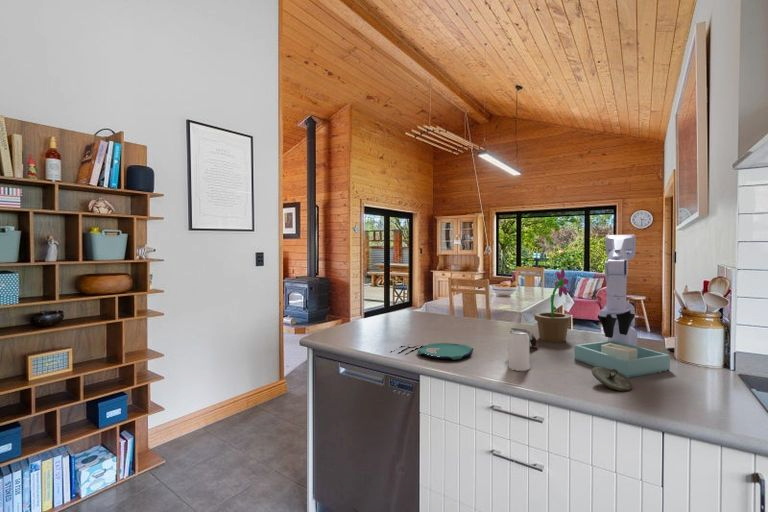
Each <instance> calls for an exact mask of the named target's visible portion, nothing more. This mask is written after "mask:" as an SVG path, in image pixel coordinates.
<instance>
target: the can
mask: <svg viewBox="0 0 768 512" xmlns="http://www.w3.org/2000/svg"><path fill="white" fill-rule="evenodd" d="M507 343H508V344H507V345H508V346H507V347H508V349H507V352H508V355H507V356H508V358H507V359H508V360H507V362H508V368H509V369H510V368H511V369H513V370H512V371H514V370H518V371H517V372H527V371H529V370H530V347H529V336H528V332H526V331H521V330H512V331H511V330H510V331H509V334H508V339H507ZM511 369H510V370H511ZM526 370H527V371H526Z"/></svg>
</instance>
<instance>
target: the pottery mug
mask: <svg viewBox="0 0 768 512" xmlns="http://www.w3.org/2000/svg"><path fill="white" fill-rule="evenodd" d="M523 329H524V330H527V329H526V328H523ZM530 333H531V336H532V339H531V340H530V346H531V347H535V348H536V351H538V350H539V343H538V341H537V339H536V337H535V335H534V334H533V333H532V332H530Z"/></svg>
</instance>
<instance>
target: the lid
mask: <svg viewBox="0 0 768 512" xmlns="http://www.w3.org/2000/svg"><path fill="white" fill-rule="evenodd" d="M591 374H592V376H593V377H594V378H595V379H596V380H597V381H598V382H599V383H601V384H602V385H604V386H606V387H608V388H609V389H612V390H615V391H619V392H628V391H631V390H632V389H633V384H632V383H631V381H630V380H629V378H626V377H625V376H623V375H622V374H620V373H618V370H616V369H609V368H605V367H595V366H593V367H592V368H591Z"/></svg>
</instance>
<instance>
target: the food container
mask: <svg viewBox="0 0 768 512" xmlns="http://www.w3.org/2000/svg"><path fill="white" fill-rule="evenodd" d="M510 329H511V330H510V331H512V330H521V331H526V332H528V336H529V348H531V347H530V346H531V342H530V340H531V339H532V336H531V333H532V332H531V331H530V330H528V329H526V330H524V329H525V328H519V327H511V328H510Z"/></svg>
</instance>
